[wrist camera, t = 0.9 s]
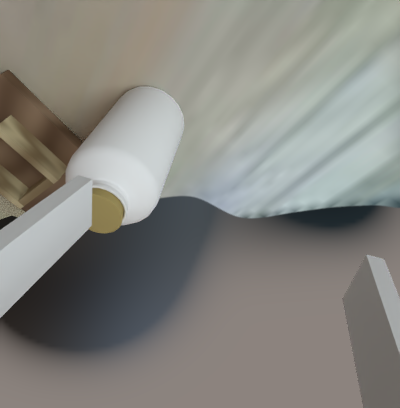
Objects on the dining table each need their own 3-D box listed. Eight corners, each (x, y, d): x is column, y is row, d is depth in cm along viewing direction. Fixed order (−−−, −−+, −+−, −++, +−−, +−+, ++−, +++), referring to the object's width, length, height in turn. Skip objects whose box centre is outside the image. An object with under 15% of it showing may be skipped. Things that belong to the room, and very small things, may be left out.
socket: (-53, 139, 46) (-78, 155, 43) (8, 69, 39) (-16, 83, 36) (42, 214, 53) (27, 234, 50) (108, 168, 46) (96, 187, 43)
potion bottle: (104, 117, 41) (28, 211, 27) (143, 67, 37) (75, 148, 23) (158, 160, 44) (112, 264, 30) (200, 118, 40) (169, 217, 26)
